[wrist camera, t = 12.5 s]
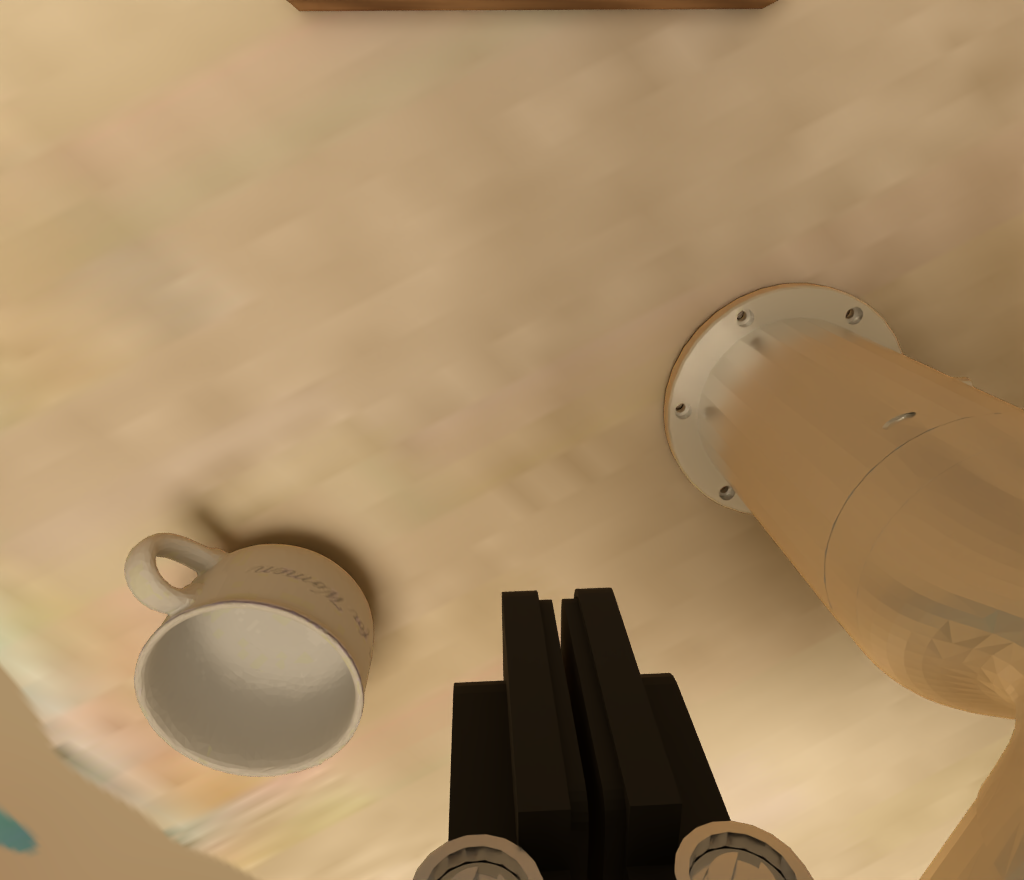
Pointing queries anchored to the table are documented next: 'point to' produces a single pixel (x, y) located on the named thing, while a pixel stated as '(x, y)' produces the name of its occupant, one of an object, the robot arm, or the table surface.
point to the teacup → (252, 655)
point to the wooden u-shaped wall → (522, 4)
